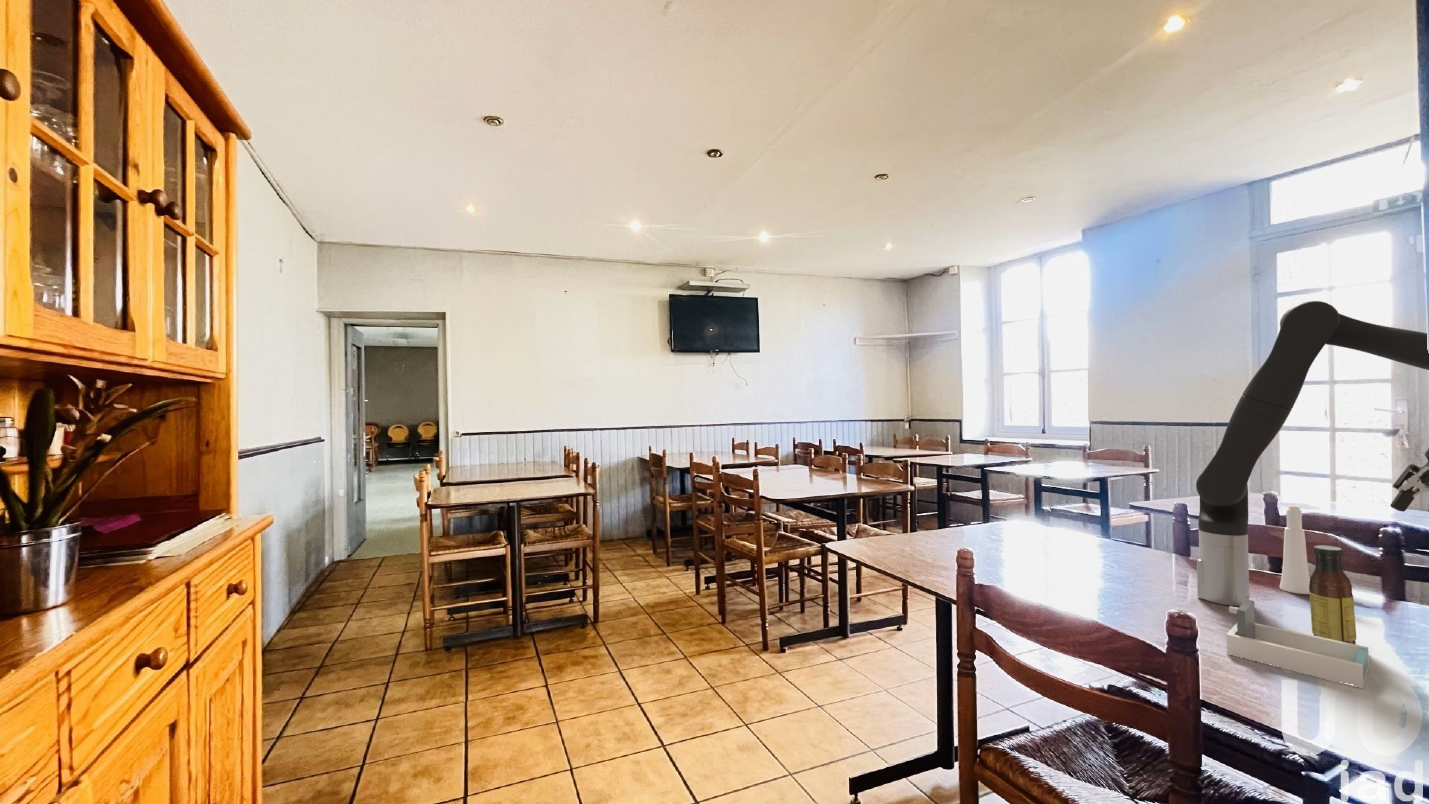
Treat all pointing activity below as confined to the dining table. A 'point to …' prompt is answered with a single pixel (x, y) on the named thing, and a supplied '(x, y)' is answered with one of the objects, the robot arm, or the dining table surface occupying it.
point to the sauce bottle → (1331, 597)
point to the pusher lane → (1302, 653)
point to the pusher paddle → (1245, 619)
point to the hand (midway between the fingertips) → (1415, 511)
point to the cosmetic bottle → (1295, 554)
